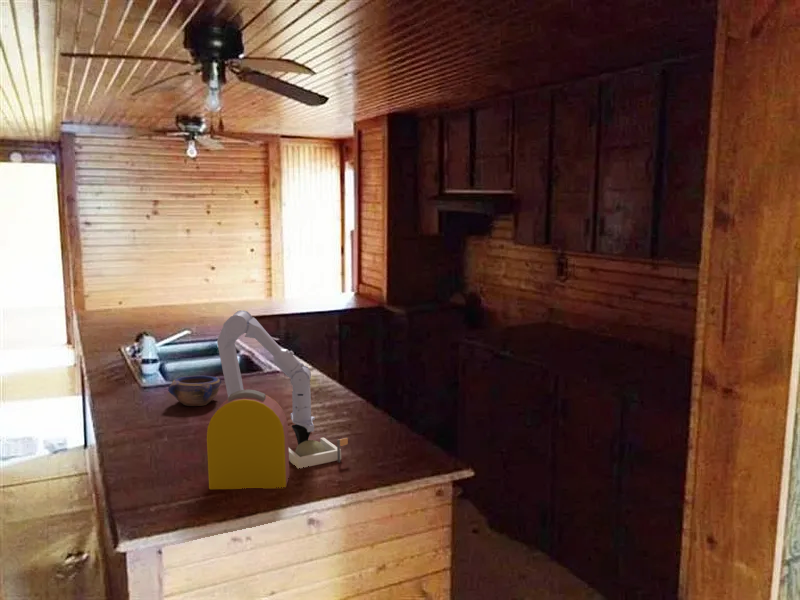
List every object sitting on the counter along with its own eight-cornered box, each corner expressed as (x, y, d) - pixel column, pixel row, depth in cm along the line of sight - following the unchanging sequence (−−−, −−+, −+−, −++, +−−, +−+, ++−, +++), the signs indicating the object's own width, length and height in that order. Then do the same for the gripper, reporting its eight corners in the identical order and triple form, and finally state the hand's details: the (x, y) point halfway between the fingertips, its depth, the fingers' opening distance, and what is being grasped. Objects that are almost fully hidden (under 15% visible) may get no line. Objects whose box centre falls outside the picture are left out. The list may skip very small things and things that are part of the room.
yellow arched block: (289, 474, 194) (287, 385, 190) (285, 488, 185) (282, 395, 181) (216, 475, 193) (212, 386, 189) (208, 489, 184) (203, 396, 180)
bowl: (227, 396, 270) (226, 372, 268) (210, 410, 252) (209, 385, 251) (184, 395, 272) (183, 371, 270) (164, 409, 254) (163, 383, 252)
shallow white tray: (300, 471, 196) (300, 448, 195) (282, 454, 209) (281, 433, 208) (348, 460, 204) (348, 438, 203) (328, 445, 216) (327, 424, 215)
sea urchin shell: (298, 459, 200) (295, 434, 205) (296, 470, 206) (293, 446, 211) (328, 456, 203) (324, 431, 207) (325, 466, 209) (322, 443, 213)
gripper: (323, 409, 206) (323, 452, 208) (304, 397, 219) (305, 437, 221) (301, 413, 203) (302, 456, 205) (284, 401, 215) (285, 441, 217)
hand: (302, 447), depth 212 cm, fingers closed
